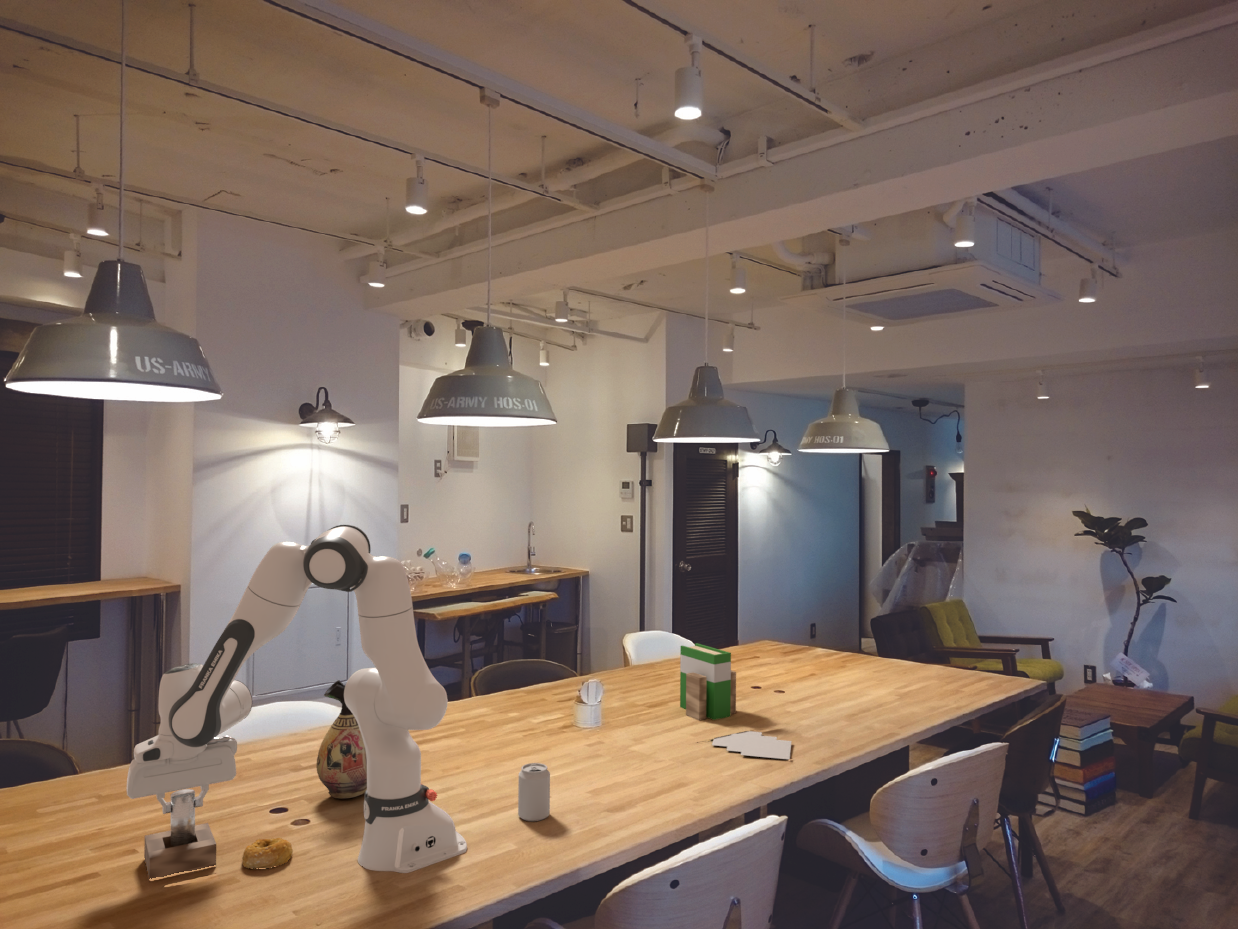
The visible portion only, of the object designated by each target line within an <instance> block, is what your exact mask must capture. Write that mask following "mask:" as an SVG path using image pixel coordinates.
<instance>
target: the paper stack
mask: <svg viewBox="0 0 1238 929" xmlns="http://www.w3.org/2000/svg"><path fill="white" fill-rule="evenodd" d="M762 733H763V732H761V731H752V730H745V731H739V732H736V733H731V734H726V735H722V736H717V737H714V738H713V741H712V743H711V746H719V747H726V751H727V752H728V751H729V752H737V753H738V752H740V755H741V756H750V757H756V758H757V757H758V758H759V757H760V758H769V759H770V758H771V759H778V760H779V759H780V760H790V759H791V748H792V740H783V739H778V737H777V736H771V735H770V736H768V735H763V734H762Z"/></svg>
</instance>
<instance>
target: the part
mask: <svg viewBox="0 0 1238 929" xmlns="http://www.w3.org/2000/svg"><path fill="white" fill-rule="evenodd" d="M195 797H196V791H195V790H194V789H193V788H188V789H182V790H177V791H173V792H172V793H171V794H170V802H171V813H170V830H171V845H172V846H180V845H185V844H190V843H192V842H194V841H195V825H196V808H195Z"/></svg>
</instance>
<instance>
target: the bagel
mask: <svg viewBox="0 0 1238 929" xmlns="http://www.w3.org/2000/svg"><path fill="white" fill-rule="evenodd" d="M293 852H294V850H293V846H292V844H291V842H290V841H288V840H287V839H284V838H282V837H276V838H273V837H272V838H262V839H261V838H259V839H256V840H255V841H254V842H253V843H251V844H249V845H247V846H246V847H245V850H244V851H243V854H242V856H241V857H242V858H241V859H242V860H241V861H242V865H243V867H244V868H245V867H247V868H246V869H249V868H254V869H253V870H256V869H255V868H258V869H259V868H271V867H274V866H278V865H280V866H282V865H281V864H283V865H285V864H286V862H287V863H288V862H289V861H290V860H291V858H292V855H293ZM289 859H290V860H289ZM288 860H289V861H288ZM284 863H285V864H284ZM278 867H279V866H278ZM258 869H257V870H258ZM271 869H272V868H271Z"/></svg>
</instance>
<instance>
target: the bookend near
mask: <svg viewBox="0 0 1238 929" xmlns="http://www.w3.org/2000/svg"><path fill="white" fill-rule="evenodd" d="M706 681H707V677H706V676H703V675H700V674H697V673H694V672H692V673H686V709H685V716H687V717H690V718H692V719H695V720H697V721H703V720H706V719H707V717H706Z"/></svg>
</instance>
